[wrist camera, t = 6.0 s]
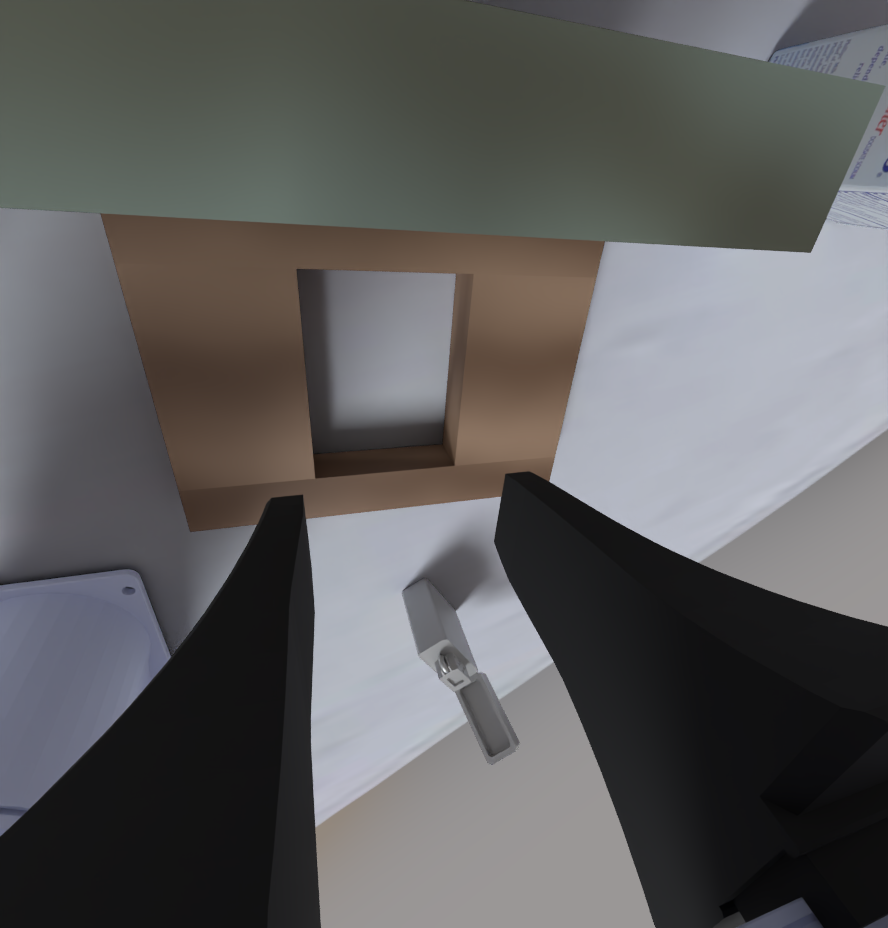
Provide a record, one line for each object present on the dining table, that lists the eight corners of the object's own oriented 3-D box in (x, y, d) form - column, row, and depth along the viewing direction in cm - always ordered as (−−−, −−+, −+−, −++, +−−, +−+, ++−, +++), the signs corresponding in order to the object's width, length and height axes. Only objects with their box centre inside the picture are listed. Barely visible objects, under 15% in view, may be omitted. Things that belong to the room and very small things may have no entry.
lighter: (400, 592, 26) (436, 727, 20) (425, 576, 26) (470, 708, 20) (453, 646, 31) (497, 772, 24) (475, 632, 31) (526, 756, 24)
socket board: (529, 469, 24) (669, 641, 15) (198, 502, 20) (125, 769, 11) (596, 137, 17) (946, 97, 8) (86, 72, 12) (-426, -181, 3)
